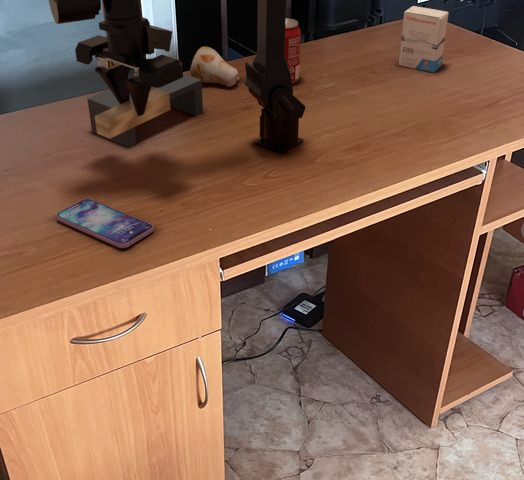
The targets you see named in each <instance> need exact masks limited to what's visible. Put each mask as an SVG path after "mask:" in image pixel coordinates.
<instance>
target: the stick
mask: <svg viewBox="0 0 524 480" xmlns="http://www.w3.org/2000/svg"><path fill="white" fill-rule="evenodd" d="M170 110H171V106H170V97H169V93H168V92H166V91H163V90H160V89H157V88H156V89H154V90H152V91H150V93H149V97H148V101H147V105H146V108H145V112H144V114H143V115H142V116H138V114H137V112H136V110H135V107H134V105H133V102H132V100H129V101H127V102H125V103H123V104H120V105H118V106H116V107H114V108H111V109H109V110H107V111H105V112H103V113H100V114H98V115H96V116H95V122H96V129H97V134H96V135H98V134H100V135H102V136H105V137H107V138H112V137H114V136H117V135H119V134H121V133H123V132H125V131H127V130H129V129H131V128H133V127H135V128H136V127H137V126H140V125H142V124H144V123H146V122H148V121H150V120H152V119H155V118H156V117H158V116H160V115H162V114H165V113H166V112H168V111H170ZM100 135H99V136H100ZM102 136H101V137H102ZM105 137H104V138H105ZM107 138H106V139H107Z"/></svg>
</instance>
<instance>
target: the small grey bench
mask: <svg viewBox="0 0 524 480" xmlns="http://www.w3.org/2000/svg"><path fill="white" fill-rule="evenodd" d="M202 85H203V82H202V80H201V79H198V78H195V77H192V76H191V75H188V74H185V73H183V78H180V79H178V80H176V81H174V82H172V83H169V84H167V85H165V86H163V87H160V88H157V89H160V90H163V91H166V92H168V93H169V97H170V108H171V107H172V108H174V109H177V110H180V111H183V112H185V113H188V114H190V115H193V116H199V115H201V114H203V113H204V102H203V86H202ZM154 89H156V88H154V87H151V90H150V91H152V90H154ZM86 100H87V106H88V107H87V108H88V113H89V120H90V127H91V133H93V134H94V135H95V134H96V135H99V136H100V137H102V138H105V139H107V140H110V141H111V142H115V143H117V144H119V145H122V146H124V147H126V148H130V147H133V146H136V145H137V137H136V126H135V127H133V128H131V129H129V130H127V131H125V132H123V133H121V134H119V135H117V136H114V137H112V138H107V137H105V136H102V135H100V134H97V129H96V122H95V116H96V115H98V114H100V113H103V112H105V111H107V110H109V109H111V108H114V107H116V106H118V105H120V104H119V102H118V101H117V99H116V98H115V96H114V94H113V93H112V91H111V90H110V88H108V89H107V90H104V91H101V92H99V93H97V94H94V95H92V96H90V97H87V99H86ZM130 100H132V99H131V96H130Z"/></svg>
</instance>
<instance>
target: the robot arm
mask: <svg viewBox="0 0 524 480" xmlns="http://www.w3.org/2000/svg"><path fill="white" fill-rule="evenodd" d="M48 5H49V8H50V12H51V16H52V19H53V21H54V22H55V24H56V25H62V24H69V23H74V22H75V23H76V22H81V21H82V22H83V21H89V20H95V19H96V16H99V15H100V11H101V10H102V13H103V20H102V21H99V22H98V27H99V31H100V30H101V31H104V32H105V36H104V35H100V34H98V35H95V36H92V37H89V38H87V39H84V40H80V41H79V42H78V43H77V44H76V47H75V49H74V52H75V59H76V62H77V63H82V64H83V65H87V66H88V65H91V64H92V62H93V61H94V59H93V58H95V59H96V60H97V66H96V67H95V68H94V71H95V73H96V74H98V75H99V76H100V78H101V79H102V81H103V82H104V83H105V84H106V86H107V87H108V89H110V90H111V91H112V93H113V94H114V96H115V98H116V99H117V101H118V102H119V104H123V103H125V102H127V101H129V100H130V96H131V99H132V102H133V105H134V107H135V110H136V112H137V114H138V116H142V115H143V114H144V112H145V108H146V105H147V101H148V97H149V93H150V90H151V87H154V88H160V87H163V86H165V85H167V84H169V83H172V82H174V81H176V80H178V79H180V78H183V74H184V70H183V69H184V68H183V63H182V62H181V61H180V60H179V59H178V58H175V57H171V56H169V55H164V54H160V55H158V56H155V57H152V58H146V55H149V56H150V55H153V54H155V53H156V51H155V50H162V51H165V52H167V53H169V52H170V51H171V46H172V39H173V38H172V37H173V30H170V29H167V28H163V27H159V26H156V25H151V23H150V21H149V19H148V18H146V17H144V16H143V14H142V4H141V0H48ZM286 18H287V0H257V28H256V29H257V37H256V38H257V41H256V44H257V45H256V46H257V47H256V48H257V49H256V54H255V57H254V58H253V60H252V61H246V62H245V63H244V67H245V74H246V75H245V81H244V85H245V86H246V87H247V88H248V92H249V94H250V95H251V96H252V97H253V98H254V99H255V100H256V101H257V103H258V105H259V106H261V107H262V108H261V109H260V111H261V114H260V115H259V139H256V140H255V144H256V145H257V146H260V147H263V148H266V149H268V150H271V151H273V152H276V153H279V154H285V153H286V152H288V151H290V150H292V149H294V148H296V147H297V146H299V145H301V144H302V143H304V138H301V137H299V130H300V129H299V127H300V126H299V124H300V119H302V118H303V116H304V115H305V114H304V113H305V110H306V105H305V104H304V103H303V102H302V101H301V100H299V99H298V98H297V97H296V96H295V95H294V87H293V86H294V85H293V83H292V78H291V73H290V70H289V67H288V64H287V61H286V58H285V30H286ZM93 56H94V57H93ZM131 69H134V72H133V76H131V77H129V74H130V71H131Z"/></svg>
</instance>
